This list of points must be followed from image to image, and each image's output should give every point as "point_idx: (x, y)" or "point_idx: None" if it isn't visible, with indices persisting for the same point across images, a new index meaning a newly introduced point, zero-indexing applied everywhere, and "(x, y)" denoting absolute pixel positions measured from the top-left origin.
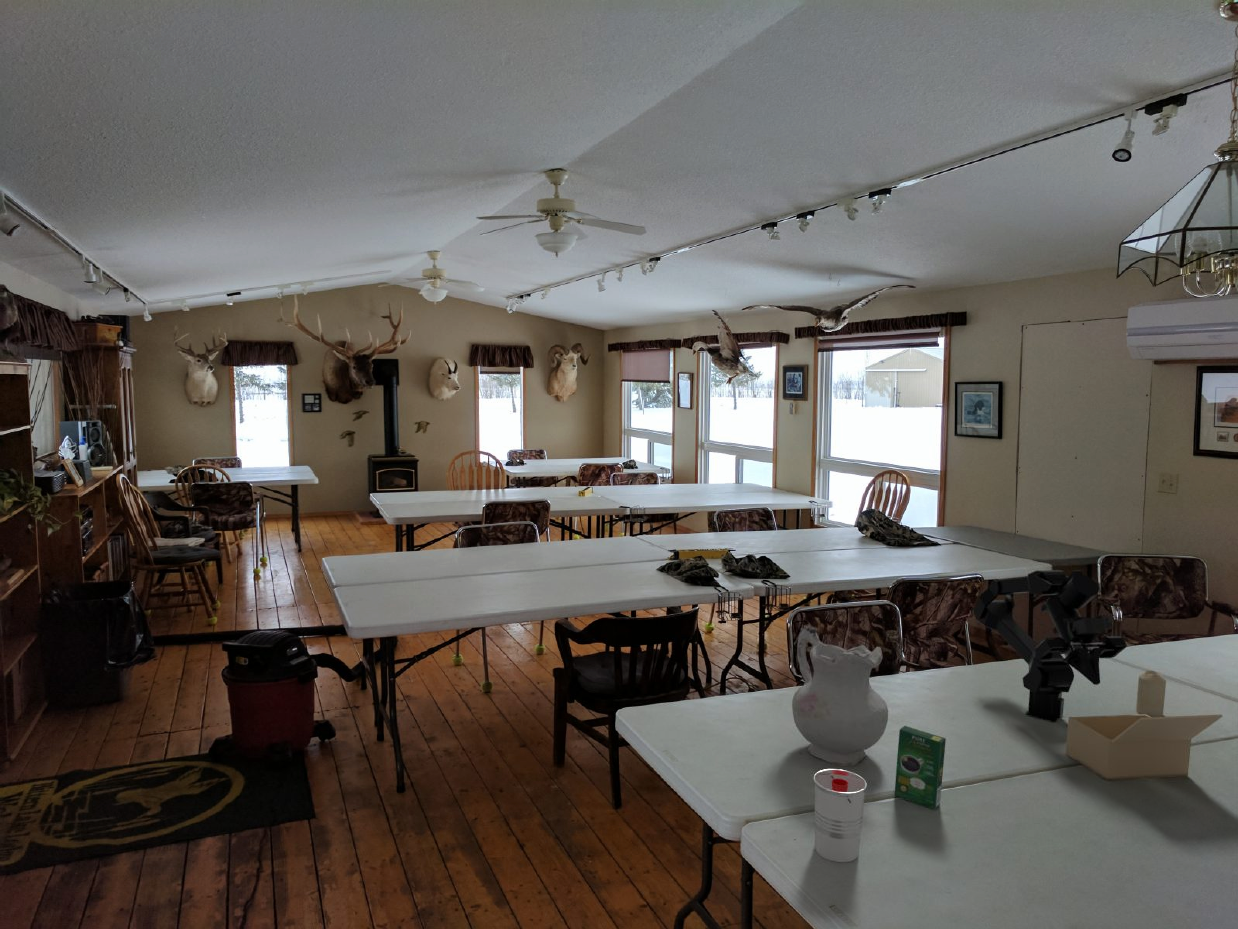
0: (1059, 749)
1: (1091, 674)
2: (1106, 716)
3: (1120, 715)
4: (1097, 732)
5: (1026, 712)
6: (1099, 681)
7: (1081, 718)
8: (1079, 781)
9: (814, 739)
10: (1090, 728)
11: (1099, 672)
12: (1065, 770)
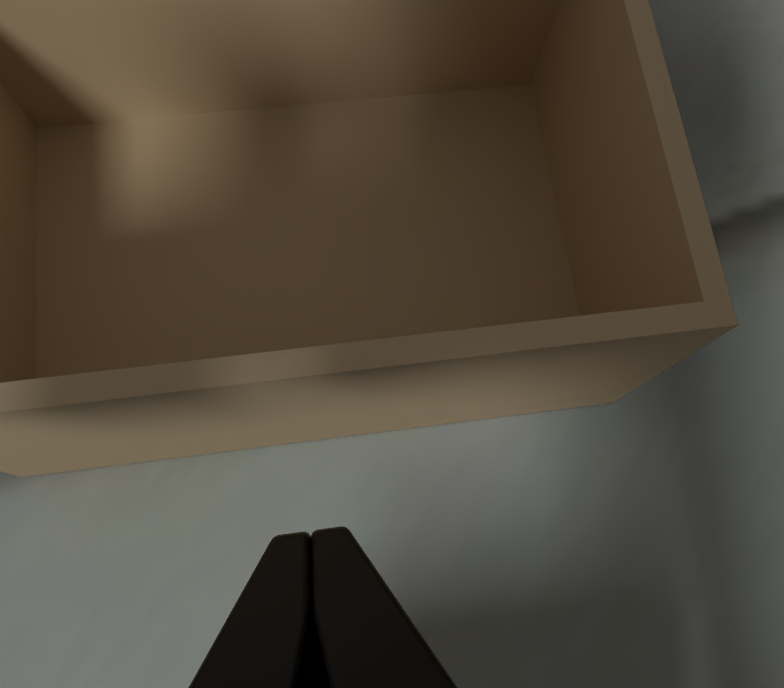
0: (621, 477)
1: (419, 637)
2: (336, 350)
3: (162, 384)
4: (629, 14)
5: None
6: (284, 542)
7: (613, 313)
8: (692, 70)
9: None
10: (651, 83)
11: (192, 683)
12: (713, 187)
